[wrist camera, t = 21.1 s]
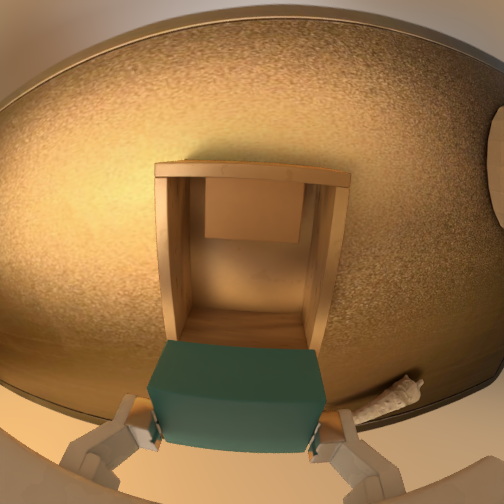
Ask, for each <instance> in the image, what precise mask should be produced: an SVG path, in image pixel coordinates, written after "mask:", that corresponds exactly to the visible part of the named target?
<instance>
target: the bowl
mask: <svg viewBox="0 0 504 504" xmlns="http://www.w3.org/2000/svg"><path fill="white" fill-rule="evenodd" d="M487 171H488V185H489V191H490V196H491V200H492V205H493V209H494V212H495V214H496V217H497V219H498V221H499V224H500V226H501V227H502V228H503V229H504V105H503V106H501V107H500V108H499V109H498V111H497V113H496V115H495V117H494V118H493V120H492V124H491V129H490V133H489V138H488V153H487Z"/></svg>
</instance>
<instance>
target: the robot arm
mask: <svg viewBox="0 0 504 504" xmlns="http://www.w3.org/2000/svg"><path fill="white" fill-rule="evenodd" d="M161 433H162V430H161V427H160V425H159V422H158V419H157V417H156V414H155V411H154V408H153V405H152V402H151V399H149V398H145V397H141V396H137V395H133V394H129V393H127V394H126V395H125V396H124V398H123V400H122V402H121V404H120V406H119V408H118V410H117V412H116V414H115V416H114V419H113V421H107V422H106V423H104V424H102V425H101V426H99V427H97V428H96V429H94V430H92V431H90V432H89V433H87V434H85V435H83V436H81V437H80V438H78V439H76V440H74V441H72V442H70V444H69V446H68V447H67V449H66V452H65V454H64V455H63V457H62V460H61V461H60V464H59V465H58V464H56V463H54V462H52V461H50V460H49V459H47V458H45V457H43V456H42V455H40V454H38V453H37V452H35V451H33V450H32V449H30V448H29V447H27V446H26V445H24V444H22V443H21V442H20V441H18V440H17V439H15V438H14V437H12V436H11V435H10V434H8V433H7V432H6V431H4V430H3V429H1V428H0V504H160V503H156V502H152V501H149V500H145V499H142V498H138V497H135V496H132V495H129V494H125V493H123V492H120V491H118V487H119V484H120V480H119V478H118V477H117V476H116V475H115V474H114V473H113V472H112V470H113V469H115V468H116V467H117V466H118V465H120V464H121V463H122V462H123V461H125V460H126V459H127V458H128V457H130V456H131V455H132V454H133V453H135V452H136V451H137V450H138V449H139V447H140V448H143V449H148V450H152V451H157V452H158V450H159V447H160V444H161V441H162V439H161V436H160V434H161ZM309 444H310V448H309V450H308V454H309V462H310V463H322V462H330V464H331V465H332V466H333V467H334V469H335V470H336V471H337V472H338V473H339V474H340V475H341V476H342V477H343V479H344V480H345V481H346V482H347V483H348V484H349V485H350V486H351V487H352V488H353V490H352V491H351V492H350V493H348V494H347V495H346V496H345V497H344V498H343V502H344V504H504V461H502V460H500V459H498V458H496V457H493V456H486V457H484V458H482V459H480V460H479V461H477V462H475V463H473V464H472V465H470V466H468V467H466V468H464V469H462V470H460V471H458V472H456V473H454V474H452V475H450V476H448V477H445V478H443V479H441V480H439V481H436V482H434V483H432V484H429V485H427V486H424V487H422V488H419V489H416V490H413V491H411V492H408V493H406V491H405V488H404V484H403V481H402V477H401V474H400V471H399V469H398V468H397V467H396V466H395V465H393V464H392V463H391V462H389V461H388V460H387V459H386V458H384V457H383V456H381V454H379V453H378V452H377V451H376V450H374V449H373V448H372V447H371V446H369V445H368V444H367V443H366V442H365V441H363V440H359V438H358V435H357V431H356V428H355V424H354V421H353V417H352V414H351V411H350V410H349V409H345V410H331V411H322V414H321V416H320V418H319V421H318V423H317V425H316V428H315V430H314V432H313V434H312V437H311V439H310V441H309Z"/></svg>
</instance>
